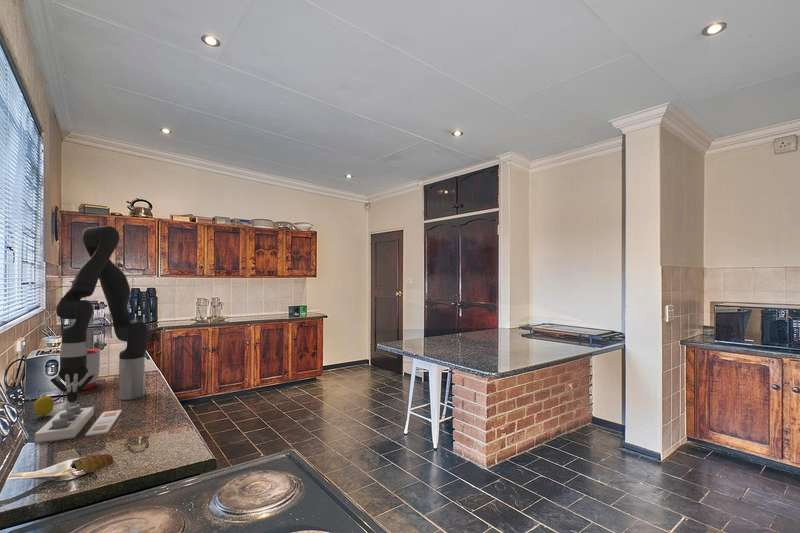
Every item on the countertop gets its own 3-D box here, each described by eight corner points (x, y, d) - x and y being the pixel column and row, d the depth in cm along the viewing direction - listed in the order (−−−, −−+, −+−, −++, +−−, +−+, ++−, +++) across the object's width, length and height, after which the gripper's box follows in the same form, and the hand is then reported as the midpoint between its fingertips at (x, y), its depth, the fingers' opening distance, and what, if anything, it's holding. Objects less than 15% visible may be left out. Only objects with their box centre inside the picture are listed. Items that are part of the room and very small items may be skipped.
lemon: (41, 419, 145) (42, 398, 145) (29, 418, 146) (30, 397, 147) (57, 414, 151) (57, 393, 151) (45, 413, 152) (46, 392, 152)
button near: (69, 426, 135) (69, 417, 135) (65, 430, 131) (65, 421, 131) (54, 428, 133) (54, 419, 133) (49, 432, 129) (50, 423, 129)
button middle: (76, 419, 141) (76, 410, 141) (72, 423, 137) (72, 414, 137) (61, 421, 139) (61, 412, 139) (57, 425, 136) (57, 416, 136)
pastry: (107, 458, 116) (107, 445, 116) (117, 465, 112) (117, 451, 112) (67, 472, 108) (67, 458, 108) (77, 479, 105) (77, 465, 105)
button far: (82, 412, 147) (82, 404, 147) (78, 416, 144) (78, 408, 144) (68, 414, 146) (68, 406, 146) (64, 418, 142) (64, 409, 142)
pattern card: (122, 411, 155) (122, 409, 155) (107, 433, 134) (107, 430, 134) (103, 413, 152) (103, 411, 152) (85, 436, 131) (85, 434, 131)
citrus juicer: (47, 395, 174) (47, 350, 174) (68, 384, 191) (69, 343, 191) (88, 392, 178) (89, 348, 178) (106, 382, 195) (106, 341, 195)
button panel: (93, 414, 151) (93, 406, 151) (74, 437, 130) (74, 428, 130) (60, 418, 146) (60, 410, 147) (34, 443, 126) (34, 433, 126)
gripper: (98, 351, 151) (97, 396, 151) (54, 353, 145) (53, 401, 145) (93, 354, 144) (91, 402, 144) (46, 357, 139) (45, 407, 138)
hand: (72, 401), depth 144 cm, fingers closed
